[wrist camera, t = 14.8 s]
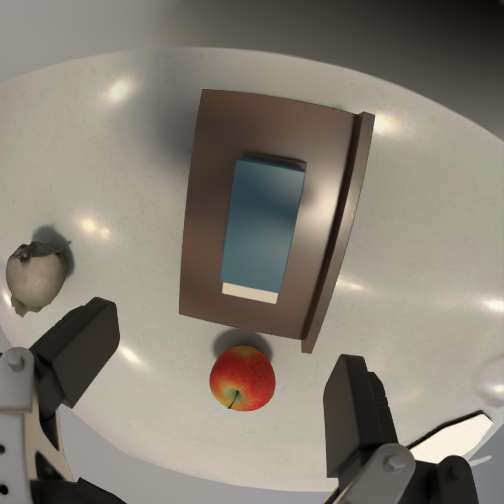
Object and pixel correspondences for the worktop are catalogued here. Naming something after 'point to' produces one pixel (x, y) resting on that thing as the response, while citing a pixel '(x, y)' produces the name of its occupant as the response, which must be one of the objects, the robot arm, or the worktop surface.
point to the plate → (452, 439)
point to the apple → (242, 379)
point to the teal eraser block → (261, 225)
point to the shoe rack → (309, 214)
